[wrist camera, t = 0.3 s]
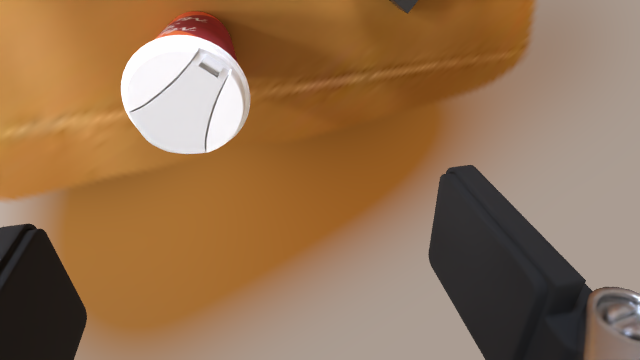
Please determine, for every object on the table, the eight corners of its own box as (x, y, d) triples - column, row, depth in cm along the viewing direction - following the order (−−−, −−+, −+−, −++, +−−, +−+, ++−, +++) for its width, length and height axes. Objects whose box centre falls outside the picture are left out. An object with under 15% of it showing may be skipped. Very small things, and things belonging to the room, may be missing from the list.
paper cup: (180, -24, 33) (155, 11, 22) (260, 33, 37) (275, 90, 25) (135, 56, 36) (92, 125, 24) (214, 102, 39) (209, 182, 28)
